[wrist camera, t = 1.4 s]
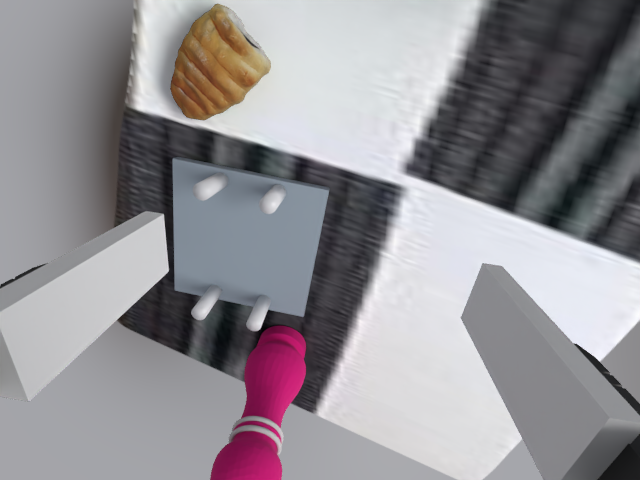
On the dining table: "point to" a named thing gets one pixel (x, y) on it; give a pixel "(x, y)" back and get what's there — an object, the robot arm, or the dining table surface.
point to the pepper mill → (264, 407)
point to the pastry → (216, 65)
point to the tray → (244, 238)
